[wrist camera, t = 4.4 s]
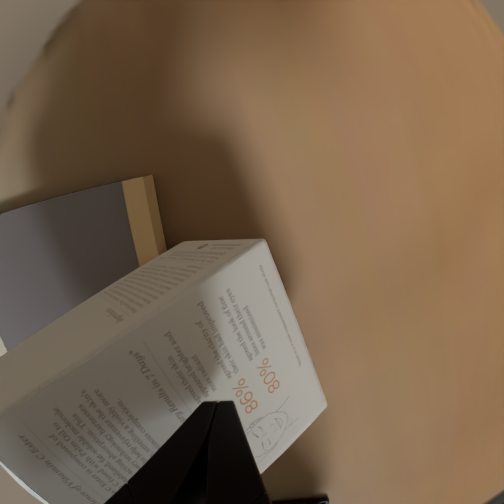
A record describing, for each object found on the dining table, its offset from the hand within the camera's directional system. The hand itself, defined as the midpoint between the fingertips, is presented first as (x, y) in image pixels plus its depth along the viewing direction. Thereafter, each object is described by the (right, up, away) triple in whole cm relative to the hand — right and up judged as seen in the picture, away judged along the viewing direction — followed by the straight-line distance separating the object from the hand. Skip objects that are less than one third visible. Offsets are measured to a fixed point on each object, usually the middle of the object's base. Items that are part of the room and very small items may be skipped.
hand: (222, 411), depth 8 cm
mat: (-10, +1, +8) cm, 13 cm away
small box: (+1, +1, +5) cm, 6 cm away
